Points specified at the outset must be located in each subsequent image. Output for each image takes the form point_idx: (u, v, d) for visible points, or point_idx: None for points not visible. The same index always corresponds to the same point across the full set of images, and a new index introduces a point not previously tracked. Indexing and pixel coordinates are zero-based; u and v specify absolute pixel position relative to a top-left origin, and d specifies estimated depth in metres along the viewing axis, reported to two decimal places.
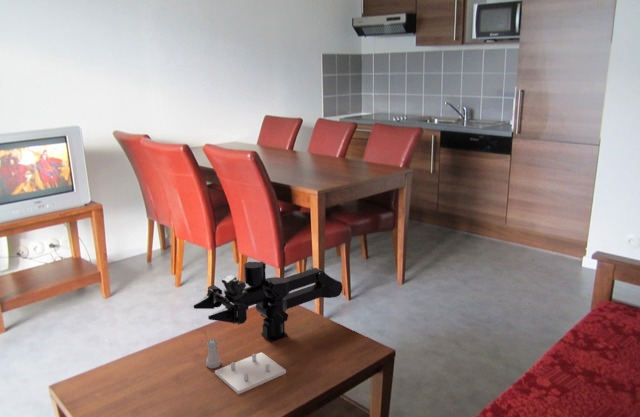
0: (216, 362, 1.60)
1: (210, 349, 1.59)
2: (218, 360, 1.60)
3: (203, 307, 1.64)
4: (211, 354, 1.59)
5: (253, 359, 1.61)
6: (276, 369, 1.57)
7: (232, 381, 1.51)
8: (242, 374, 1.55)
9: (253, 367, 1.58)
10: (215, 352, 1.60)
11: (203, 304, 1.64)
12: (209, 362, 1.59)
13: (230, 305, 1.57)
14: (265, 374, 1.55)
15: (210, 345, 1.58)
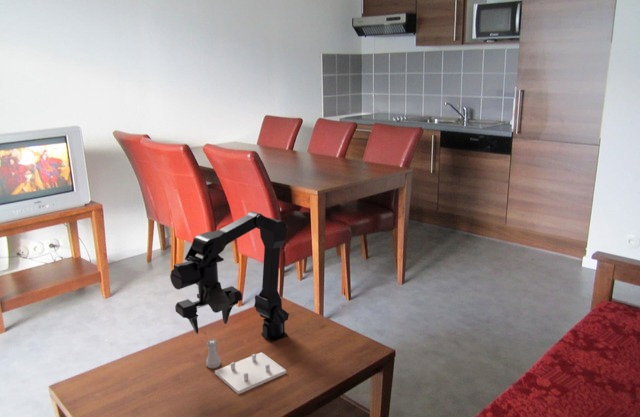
0: (216, 362, 1.60)
1: (210, 349, 1.59)
2: (218, 360, 1.60)
3: None
4: (211, 354, 1.59)
5: (253, 359, 1.61)
6: (276, 369, 1.57)
7: (232, 381, 1.51)
8: (242, 374, 1.55)
9: (253, 367, 1.58)
10: (215, 352, 1.60)
11: None
12: (209, 362, 1.59)
13: (233, 305, 1.59)
14: (265, 374, 1.55)
15: (210, 345, 1.58)
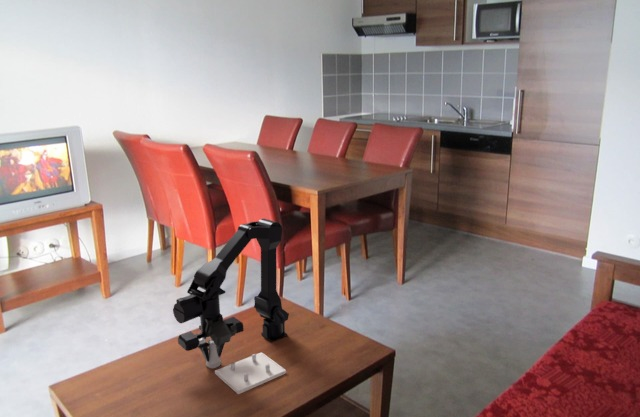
0: (216, 362, 1.60)
1: (210, 349, 1.59)
2: (218, 360, 1.60)
3: None
4: (211, 354, 1.59)
5: (253, 359, 1.61)
6: (276, 369, 1.57)
7: (232, 381, 1.51)
8: (242, 374, 1.55)
9: (253, 367, 1.58)
10: (215, 352, 1.60)
11: None
12: (209, 362, 1.59)
13: None
14: (265, 374, 1.55)
15: (210, 345, 1.58)
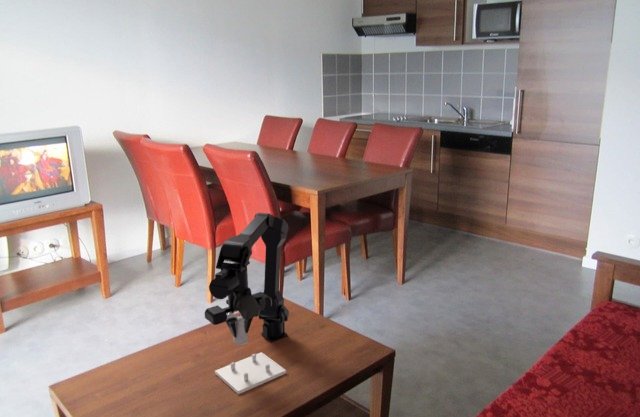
0: (244, 338, 1.53)
1: (237, 325, 1.53)
2: (246, 336, 1.54)
3: None
4: (239, 330, 1.53)
5: (253, 359, 1.61)
6: (276, 369, 1.57)
7: (232, 381, 1.51)
8: (242, 374, 1.55)
9: (253, 367, 1.58)
10: (243, 328, 1.53)
11: None
12: (236, 338, 1.53)
13: None
14: (265, 374, 1.55)
15: (238, 320, 1.52)
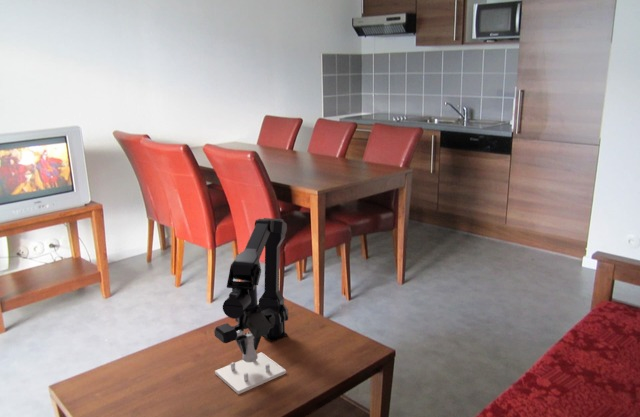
0: (253, 356, 1.54)
1: (247, 342, 1.53)
2: (255, 354, 1.55)
3: None
4: (248, 348, 1.53)
5: None
6: (276, 369, 1.57)
7: (232, 381, 1.51)
8: (242, 374, 1.55)
9: (253, 367, 1.58)
10: (252, 345, 1.54)
11: None
12: (246, 356, 1.54)
13: None
14: (265, 374, 1.55)
15: (247, 338, 1.52)
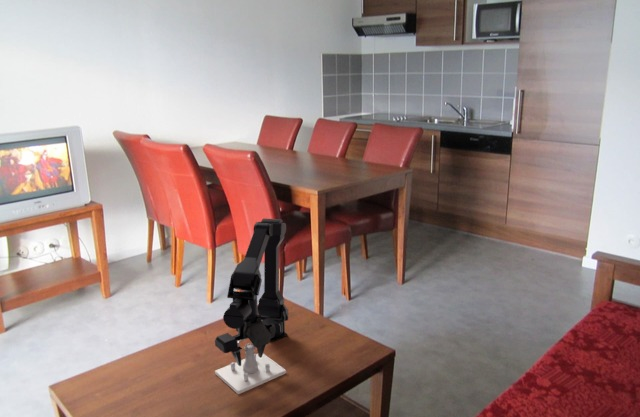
0: (254, 367, 1.55)
1: (248, 354, 1.54)
2: (255, 365, 1.56)
3: None
4: (249, 359, 1.54)
5: None
6: (276, 369, 1.57)
7: (232, 381, 1.51)
8: (242, 374, 1.55)
9: None
10: (253, 357, 1.55)
11: None
12: (247, 367, 1.55)
13: None
14: (265, 374, 1.55)
15: (248, 350, 1.53)
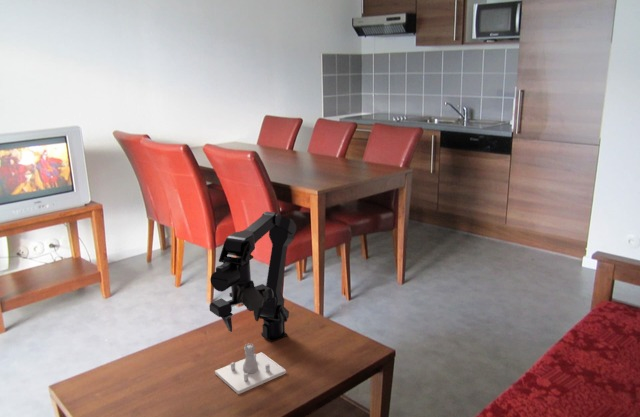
0: (254, 367, 1.55)
1: (248, 354, 1.54)
2: (255, 365, 1.56)
3: None
4: (249, 359, 1.54)
5: None
6: (276, 369, 1.57)
7: (232, 381, 1.51)
8: (242, 374, 1.55)
9: None
10: (253, 357, 1.55)
11: None
12: (247, 367, 1.55)
13: (265, 303, 1.61)
14: (265, 374, 1.55)
15: (248, 350, 1.53)
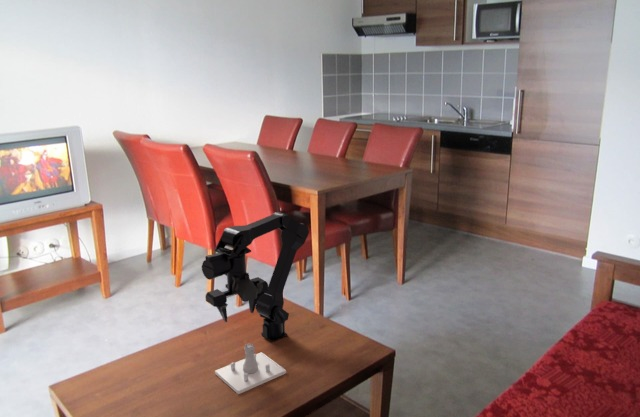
0: (254, 367, 1.55)
1: (248, 354, 1.54)
2: (255, 365, 1.56)
3: None
4: (249, 359, 1.54)
5: None
6: (276, 369, 1.57)
7: (232, 381, 1.51)
8: (242, 374, 1.55)
9: None
10: (253, 357, 1.55)
11: None
12: (247, 367, 1.55)
13: (259, 295, 1.65)
14: (265, 374, 1.55)
15: (248, 350, 1.53)
